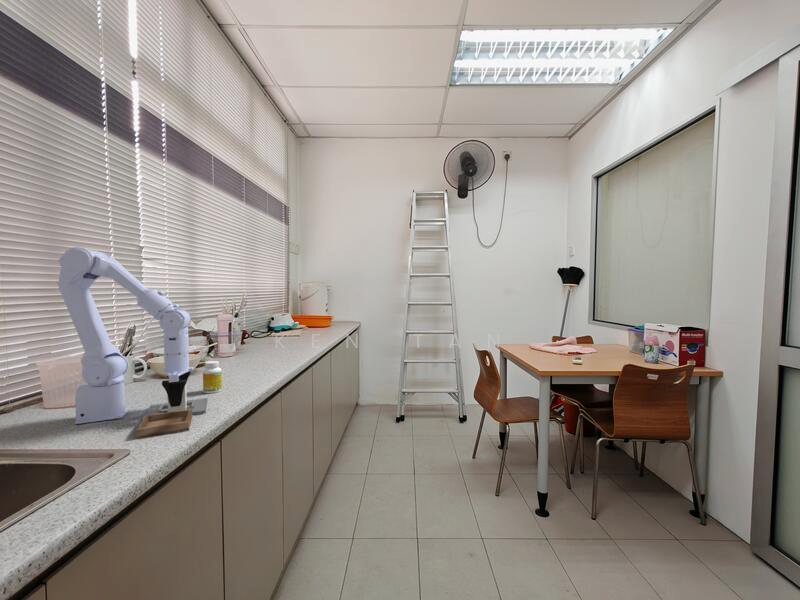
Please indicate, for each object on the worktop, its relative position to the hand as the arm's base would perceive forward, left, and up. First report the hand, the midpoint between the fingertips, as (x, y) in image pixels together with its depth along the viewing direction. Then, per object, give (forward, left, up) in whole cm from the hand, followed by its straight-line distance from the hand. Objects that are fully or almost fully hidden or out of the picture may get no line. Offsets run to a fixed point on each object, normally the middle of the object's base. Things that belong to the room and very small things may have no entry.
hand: (177, 402), depth 95 cm
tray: (-1, -12, -2) cm, 12 cm away
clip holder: (0, 0, -2) cm, 2 cm away
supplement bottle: (+8, +16, -3) cm, 19 cm away
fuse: (0, 0, -2) cm, 2 cm away
